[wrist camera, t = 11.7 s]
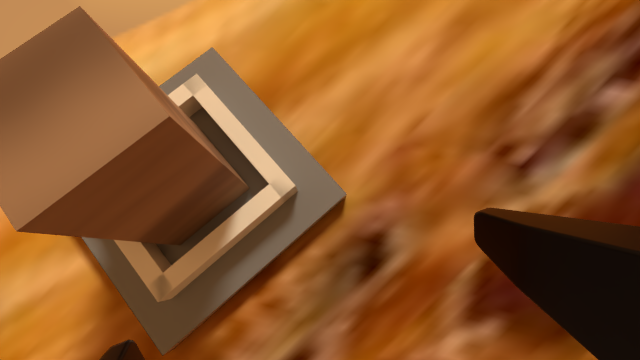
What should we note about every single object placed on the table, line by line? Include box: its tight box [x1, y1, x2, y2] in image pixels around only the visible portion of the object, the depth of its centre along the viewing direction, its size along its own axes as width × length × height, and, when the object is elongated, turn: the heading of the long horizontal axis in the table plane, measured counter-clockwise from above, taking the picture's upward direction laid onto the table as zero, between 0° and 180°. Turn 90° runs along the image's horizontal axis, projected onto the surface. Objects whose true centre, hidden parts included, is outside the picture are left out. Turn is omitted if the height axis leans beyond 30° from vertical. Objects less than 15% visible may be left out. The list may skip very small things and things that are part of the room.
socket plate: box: [82, 47, 347, 355], centre depth 19 cm, size 13×13×2 cm
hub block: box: [0, 6, 250, 245], centre depth 14 cm, size 5×5×10 cm
